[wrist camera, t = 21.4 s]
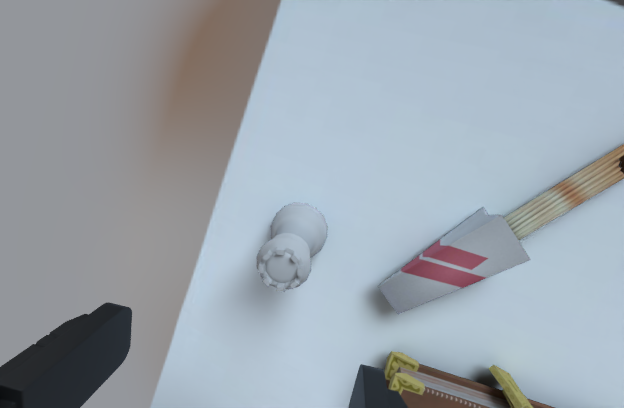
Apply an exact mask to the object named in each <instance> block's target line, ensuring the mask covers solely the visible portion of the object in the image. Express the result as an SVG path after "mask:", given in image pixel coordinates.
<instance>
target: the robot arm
mask: <svg viewBox="0 0 624 408" xmlns="http://www.w3.org/2000/svg"><path fill="white" fill-rule="evenodd" d="M131 321H132V310H131V309H130V308H129V307H125V306H121V305H117V304H113V303H105V304H103V305H102V306H100V307H99V308H97V309H96V310H95V311H93V312H92V313H91V314H89V315H88V314H84V315H81V316H79V317H76V318H74V319H71V320H69V321H67V322H65V323H63V324H62V325H61V326H59V327H58V328H56V329H55V330H53V331H52V332H50V334H49V335H46V336H45V337H43V338H42V339H40V340H39V341H38V342H37V343H36V344H33V345H31V346H30V347H29V348H27V349H26V350H24V351H23V352H21V353H20V354H18V355H17V356H16V357H14V358H13V359H11V360H10V361H9V362H7V363H5V364H4V365H2V366H1V367H0V408H80V407H81V406H82V405H83V404H84V403H85V402H86V401H87V400H88V399H89V398H90V397H91V396H92V394H93V393H94V392H95V391H96V390H97V389H98V388H99V387H100V386H101V385H102V384H103V383H104V382H105V381H106V380H107V379H108V378H109V377H110V376H111V375H112V373H113V372H114V371H115V370H116V369H117V368H118V367H119V366H120V365H121V364H122V363H123V361H124V360H125V358H126V356H127V354H128V352H129V348H130V340H131V339H130V338H131ZM349 408H408V407H407V405H406V403H405V402H404V400H403V398H402V397H401V395H400V393H399V392H398V391H394V390H390V389H387V385H386V378H385V372H384V370H382V369H378V368H374V367H370V366H366V365H362V364H361V365H360V367H359V370H358V374H357V378H356V381H355V385H354V388H353V392H352V396H351V399H350V403H349Z"/></svg>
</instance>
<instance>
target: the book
mask: <svg viewBox="0 0 624 408" xmlns="http://www.w3.org/2000/svg"><path fill="white" fill-rule="evenodd" d="M489 370H490V371H491V373H492V374H493V375H494V377H495V378H496V380H497V381H498V382H499V384H500V385H501V387H502V388H503V390H499V389H496V388H492V387H489V386H486V385H483V384H480V383H477V382H474V381H471V380H468V379H465V378H462V377H458V376H455V375H452V374H449V373H446V372H443V371H440V370H437V369H434V368H431V367H428V366H424V365H421V364H419V363H418V362H417V361H416V360H414V359H412V358H410V357H409V356H407V355H405V354H403V353H400V352H392V351H391V353H390V354H389V356H388V357H387V361H386V366H385V371H384V372H385V378H386V385H387V389H390V390H394V391H398V392H399V393H400V395H401V397H402V398H403V400H404V402H405V403H406V405H407V407H408V408H554V407H551V406H548V405H545V404H542V403H539V402H536V401H533V400H529V399H527V398H526V397H525V396H524V395H523V393H522V392H521V390H520V389H519V387H518V386H517V385H516V383H515V382H514V380H513V379H512V377H511V376H510V374H509V373H507V372H506V371H504V370H502V369H500V368H499V367H497V366H495V365H493V366H491V367H490V368H489Z"/></svg>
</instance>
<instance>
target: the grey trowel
mask: <svg viewBox="0 0 624 408" xmlns="http://www.w3.org/2000/svg"><path fill="white" fill-rule="evenodd" d="M619 158H620V160H619ZM620 161H622V163H621V167H622V168H620V167H618V165H619V163H620ZM622 179H624V144H623V145H622V146H620V147H619V148H617V149H615V150H614V151H612V152H610V153H609V154H607V155H605V156H604V157H602V158H600V159H599V160H597V161H596V162H594V163H592V164H591V165H589V166H587V167H586V168H584V169H582V170H581V171H579V172H577V173H576V174H574V175H573V176H571V177H569V178H568V179H566V180H564V181H563V182H561V183H559V184H558V185H556V186H554V187H553V188H551V189H550V190H548V191H546V192H545V193H543V194H541V195H540V196H538V197H537V198H535V199H533V200H532V201H530V202H529V203H527V204H525V205H524V206H522V207H520V208H519V209H517V210H516V211H514V212H512V213H511V214H509V215H508V216H506V217H503V216H502V215H488V213H487V212H486V210H485V209H484V207H482V208H481V209H480V210H478V211H477V212H476V213H474V214H473V215H472V216H470V217H469V218H468V219H466V220H465V221H464V222H462V223H461V224H460V225H458V226H457V227H456V228H455V229H453V230H452V231H451V232H449V233H448V234H447V235H445V236H444V237H443V238H441V239H440V240H439V241H437V242H436V243H435V244H433V245H432V246H431V247H429V248H428V249H427V250H425V251H424V252H423V253H421V254H420V255H419V256H417V257H416V258H415V259H413V260H412V261H411V262H409V263H408V264H407V265H406V266H404V267H403V268H402V269H400V270H399V271H398V272H396V273H395V274H394V275H392V276H391V277H390V278H388V279H387V280H386V281H384V282H383V283H382V284H380V285H379V286H378V288H379V289H380V290H381V292H382V293H383V295H384V296H385V297H386V299H387V300H388V301H389V303H390V304H391V306H392V307H393V308H394V310H395V311H396V312H397V314H400V313H402V312H405V311H407V310H410V309H412V308H415V307H417V306H419V305H422V304H424V303H427V302H429V301H432V300H434V299H436V298H439V297H441V296H444V295H446V294H449V293H451V292H453V291H456V290H458V289H461V288H463V287H466V286H468V285H470V284H473V283H475V282H478V281H480V280H483V279H485V278H488V277H490V276H492V275H495V274H497V273H500V272H502V271H505V270H507V269H509V268H512V267H514V266H517V265H519V264H522V263H524V262H526V261H529V260H531V259H530V258H529V256H528V255H527V253H526V251H525V250H524V248H523V247H522V245H521V244H520V242H519V241H518V240H520V239H522V238H523V237H525V236H527V235H528V234H530V233H532V232H533V231H535V230H537V229H538V228H540V227H542V226H543V225H545V224H547V223H548V222H550V221H552V220H554V219H555V218H557V217H559V216H560V215H562V214H564V213H566V212H567V211H569V210H571V209H572V208H574V207H576V206H578V205H579V204H581V203H583V202H584V201H586V200H588V199H590V198H591V197H593V196H595V195H596V194H598V193H600V192H602V191H603V190H605V189H607V188H608V187H610V186H612V185H614V184H615V183H617V182H619V181H620V180H622Z"/></svg>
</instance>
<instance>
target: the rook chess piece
mask: <svg viewBox="0 0 624 408" xmlns="http://www.w3.org/2000/svg"><path fill="white" fill-rule="evenodd" d="M327 231H328V226H327V223H326V220H325V218H324V216H323V215H322V213H321V212H320V211H319V210H318V209H317V208H316V207H313V206H311V205H309V204H307V203H292V204H289V205H286V206H284V207H283V208H282V209H281V210H280V211H279V212H277V213H276V216H275V218H274V220H273V222H272V225H271V240H269V241H267V242H266V243H265V244H264V245H263V246H262V247H261V248H260V250H259V253H258V255H257V269H258V271H259V273H260V275H261V277H262V278H263V280H262V282H263V283H264V284H265V285H266V286H267V287H269V285H272V286H274V287H276V288H277V289H276V291H282V292H285V289H293V288H295V287H298V286H300V285H301V284H302V283H303V282H305V281H306V280H307V278H308V276H309V274H310V272H311V259H310V258H311V257H313V256H314V255H315V254H317V253H318V252H319V251H320V250H321V249H322V247H323V245H324V243H325V241H326V238H327Z"/></svg>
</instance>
